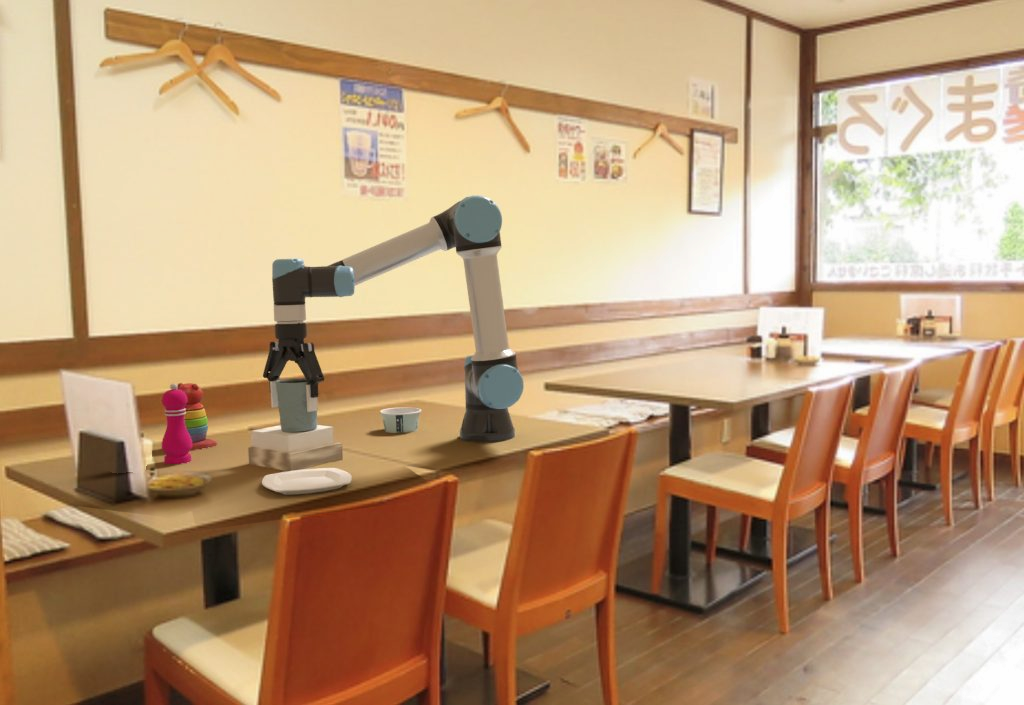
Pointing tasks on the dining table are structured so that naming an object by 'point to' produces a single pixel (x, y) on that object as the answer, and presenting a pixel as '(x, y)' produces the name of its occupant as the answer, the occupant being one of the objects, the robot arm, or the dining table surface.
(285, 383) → the blue-grey cup
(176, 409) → the pepper mill
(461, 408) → the dining table surface
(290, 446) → the tower top
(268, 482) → the plate
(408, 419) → the food container
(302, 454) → the tower base
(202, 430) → the stacking bear
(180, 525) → the dining table surface
